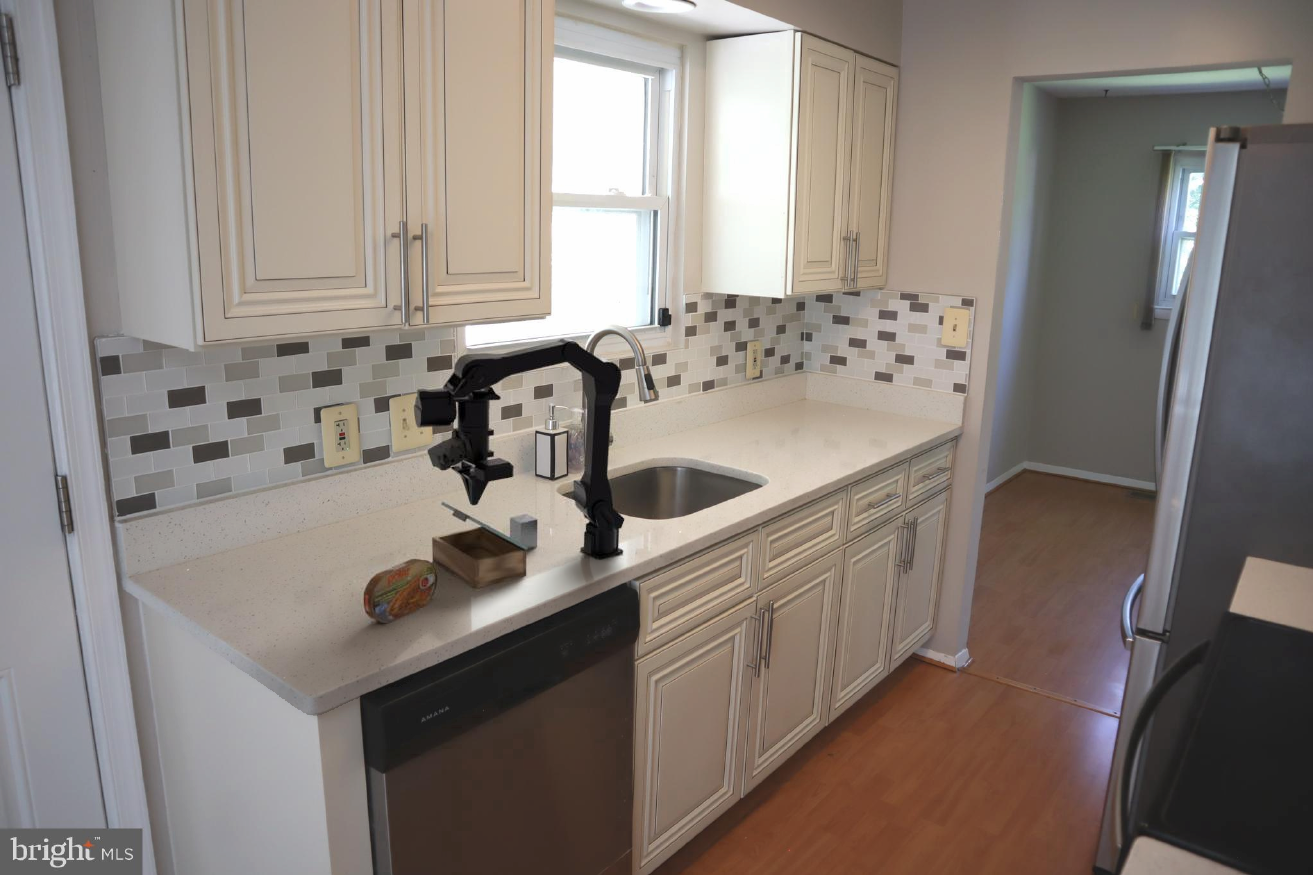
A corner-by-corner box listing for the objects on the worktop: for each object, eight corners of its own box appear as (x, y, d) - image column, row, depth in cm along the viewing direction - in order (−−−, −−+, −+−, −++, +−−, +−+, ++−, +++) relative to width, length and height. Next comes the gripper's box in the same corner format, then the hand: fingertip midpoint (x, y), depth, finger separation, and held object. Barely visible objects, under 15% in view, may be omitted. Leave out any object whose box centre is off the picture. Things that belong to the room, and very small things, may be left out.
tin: (374, 630, 150) (372, 582, 148) (360, 625, 151) (358, 577, 149) (439, 599, 162) (438, 554, 160) (426, 595, 164) (425, 550, 162)
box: (481, 549, 186) (481, 526, 185) (526, 574, 174) (526, 550, 173) (432, 561, 179) (432, 537, 177) (475, 588, 167) (475, 562, 166)
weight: (526, 541, 192) (526, 513, 190) (537, 546, 189) (537, 519, 187) (509, 545, 189) (510, 517, 188) (520, 551, 186) (520, 523, 185)
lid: (479, 529, 184) (483, 523, 185) (524, 553, 173) (528, 547, 173) (436, 506, 177) (439, 500, 177) (479, 530, 165) (483, 523, 165)
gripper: (409, 419, 170) (410, 499, 174) (460, 440, 157) (461, 527, 161) (462, 412, 178) (462, 489, 181) (515, 432, 164) (515, 515, 168)
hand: (473, 504), depth 173 cm, fingers closed
